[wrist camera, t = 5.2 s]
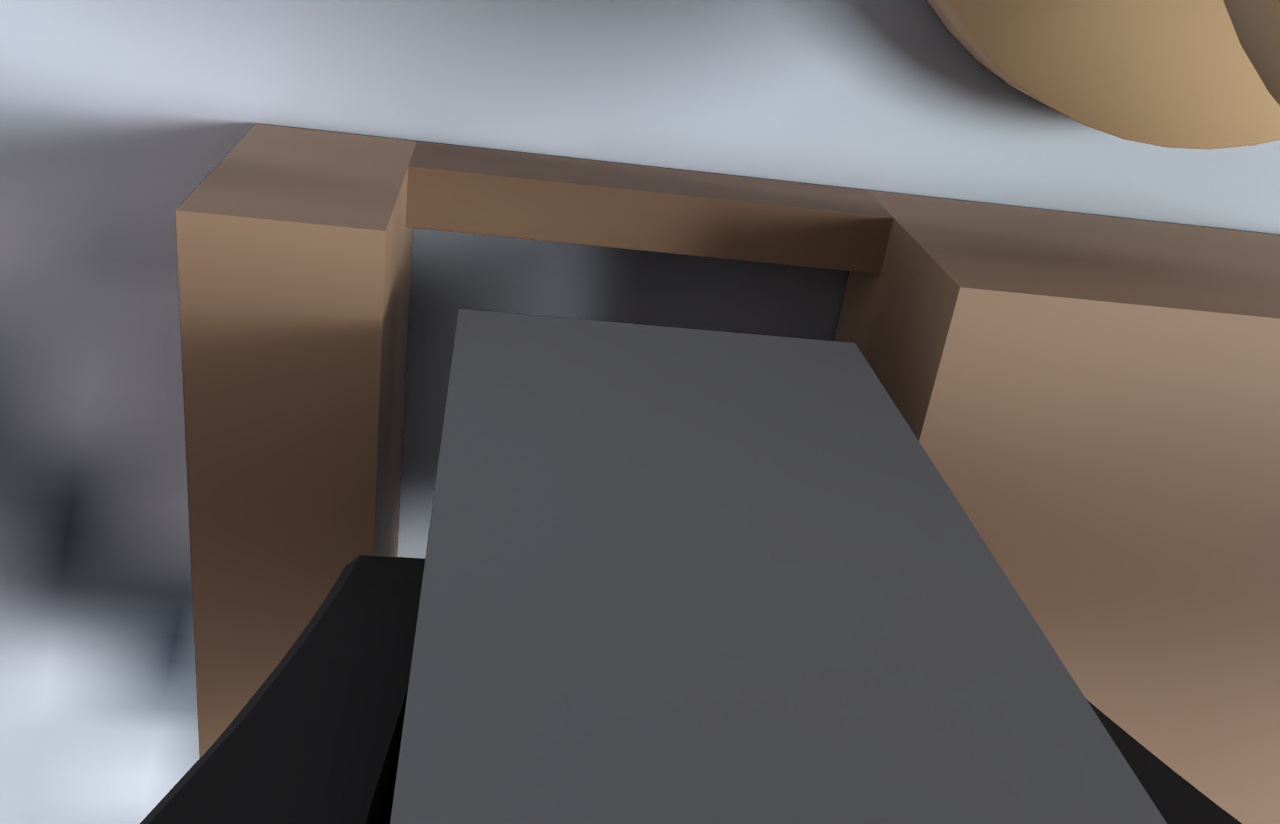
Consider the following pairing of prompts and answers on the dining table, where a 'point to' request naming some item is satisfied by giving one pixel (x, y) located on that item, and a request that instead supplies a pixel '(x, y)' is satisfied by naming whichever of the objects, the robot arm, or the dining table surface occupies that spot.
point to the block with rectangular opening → (870, 317)
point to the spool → (1136, 63)
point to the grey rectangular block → (720, 602)
